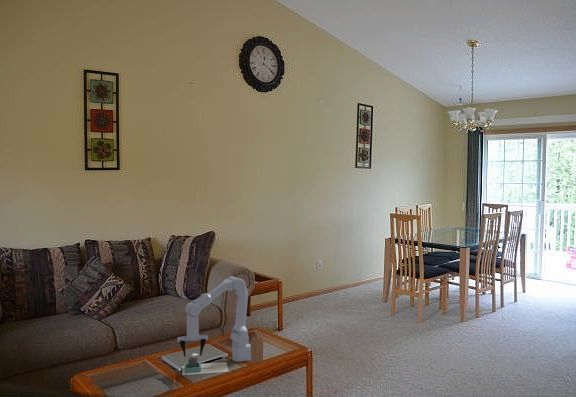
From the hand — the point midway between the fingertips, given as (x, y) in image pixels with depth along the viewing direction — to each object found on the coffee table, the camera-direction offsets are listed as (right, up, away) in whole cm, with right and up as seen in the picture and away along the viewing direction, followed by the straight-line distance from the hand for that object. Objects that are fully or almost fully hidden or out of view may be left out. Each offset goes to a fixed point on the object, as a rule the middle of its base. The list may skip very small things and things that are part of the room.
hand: (192, 355), depth 229 cm
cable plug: (0, -7, 0) cm, 7 cm away
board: (+6, -8, +1) cm, 10 cm away
